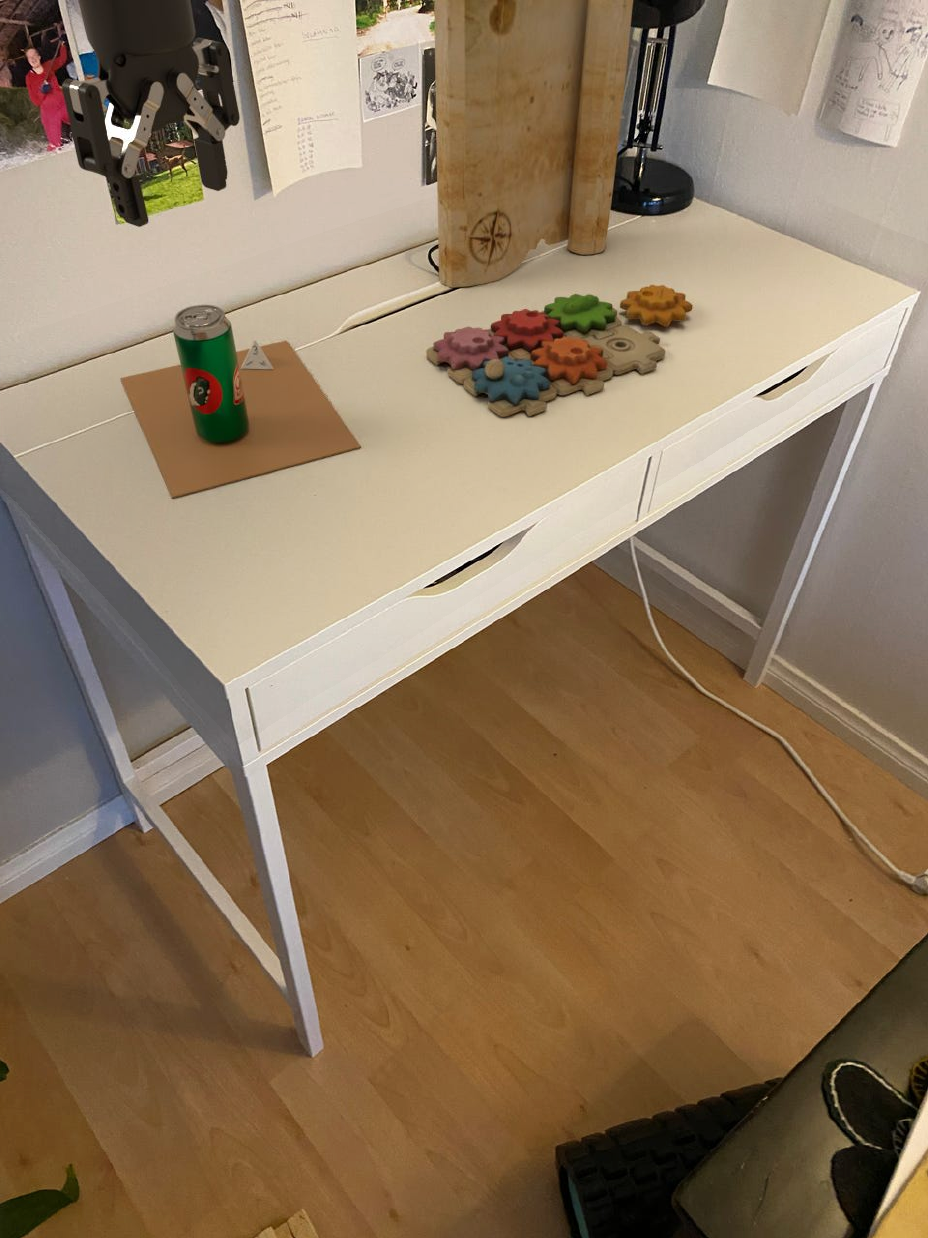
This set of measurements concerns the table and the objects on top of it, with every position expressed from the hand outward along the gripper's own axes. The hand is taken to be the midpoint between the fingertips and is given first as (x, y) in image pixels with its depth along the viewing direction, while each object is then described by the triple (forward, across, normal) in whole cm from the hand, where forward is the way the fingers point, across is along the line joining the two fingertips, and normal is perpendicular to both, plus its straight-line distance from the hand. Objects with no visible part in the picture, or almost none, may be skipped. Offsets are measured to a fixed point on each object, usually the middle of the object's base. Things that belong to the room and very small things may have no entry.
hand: (176, 205), depth 77 cm
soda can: (+22, 0, 0) cm, 22 cm away
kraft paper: (+22, -3, -2) cm, 22 cm away
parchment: (+22, -48, +4) cm, 53 cm away
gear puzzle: (+22, -34, +20) cm, 45 cm away
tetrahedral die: (+22, -11, -5) cm, 25 cm away
